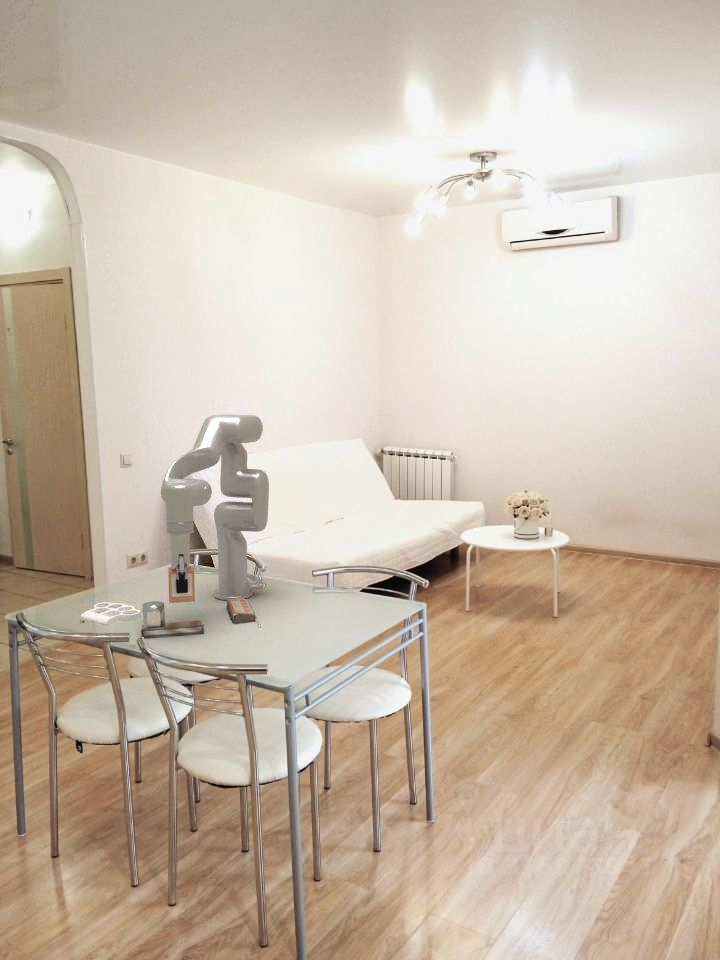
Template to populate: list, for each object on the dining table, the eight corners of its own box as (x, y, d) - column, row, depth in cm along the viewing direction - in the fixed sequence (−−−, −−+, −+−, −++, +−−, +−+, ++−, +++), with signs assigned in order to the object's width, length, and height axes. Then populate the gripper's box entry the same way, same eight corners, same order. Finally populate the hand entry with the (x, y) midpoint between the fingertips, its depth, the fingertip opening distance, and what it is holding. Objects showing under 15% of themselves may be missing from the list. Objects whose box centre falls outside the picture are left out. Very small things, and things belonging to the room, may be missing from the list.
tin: (165, 627, 233) (164, 600, 232) (165, 634, 227) (164, 606, 226) (143, 629, 232) (142, 602, 230) (143, 635, 226) (142, 608, 225)
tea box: (194, 596, 233) (193, 566, 231) (194, 601, 228) (194, 570, 226) (169, 598, 231) (168, 567, 230) (169, 603, 226) (168, 571, 225)
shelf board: (201, 624, 239) (201, 612, 239) (204, 637, 228) (203, 625, 227) (142, 628, 235) (141, 616, 235) (141, 642, 224) (141, 630, 223)
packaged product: (220, 598, 251) (252, 595, 254) (220, 613, 252) (252, 610, 254) (226, 615, 234) (260, 612, 237) (227, 631, 235) (261, 628, 237)
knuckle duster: (73, 621, 243) (113, 609, 255) (113, 632, 234) (152, 619, 246) (73, 610, 243) (112, 598, 255) (112, 621, 233) (151, 608, 245)
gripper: (165, 522, 234) (167, 583, 236) (166, 533, 217) (168, 599, 220) (192, 521, 235) (193, 581, 238) (195, 532, 219) (196, 597, 222)
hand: (181, 589), depth 229 cm, fingers closed on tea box, 5 cm apart
